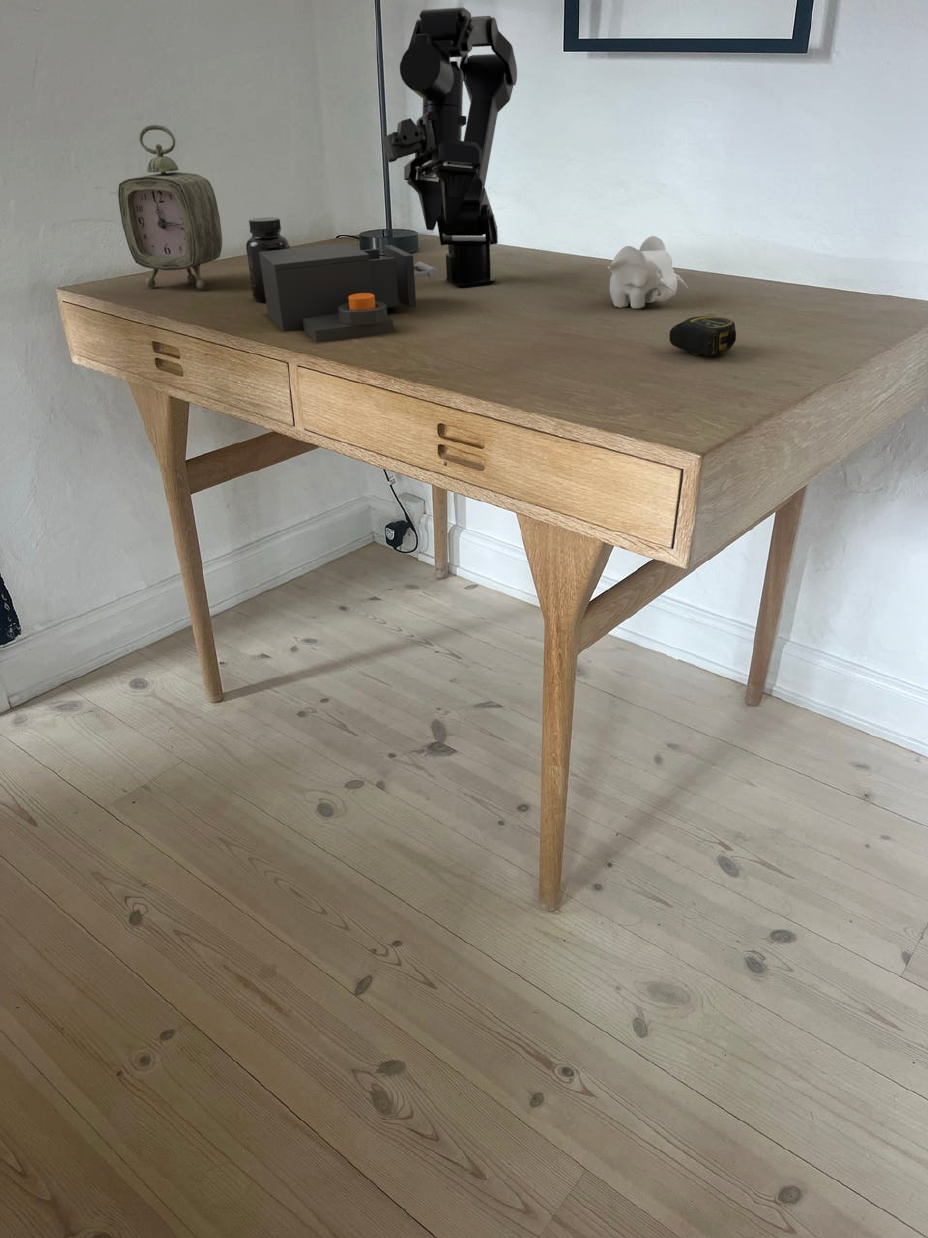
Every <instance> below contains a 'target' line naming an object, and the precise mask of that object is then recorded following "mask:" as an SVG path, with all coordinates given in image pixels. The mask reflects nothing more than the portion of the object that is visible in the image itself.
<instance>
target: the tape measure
mask: <svg viewBox="0 0 928 1238" xmlns="http://www.w3.org/2000/svg"><path fill="white" fill-rule="evenodd" d="M736 340H737V331H736V324H735V322H734V321H733V320H731V319H730V318H727V317H722V316H715V315H700V316H692V317H689V318H687V319H685V320H683V321H682V322H679V323H677V324H676V325H673V326H672V328H671V329H670V330H669V340H668V341H669V343H670V344H671V345H672V346H673V347H675V348H677V349H680V350H684V351H686V352H691V353H692V354H693V355H694V356H695V355H697V356H698V355H704V356H708V357H712V356H714V355H716V354H720V353H726V352H729V351H730V350H731V349H732V347H733V346H734V344H735V343H736Z"/></svg>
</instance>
